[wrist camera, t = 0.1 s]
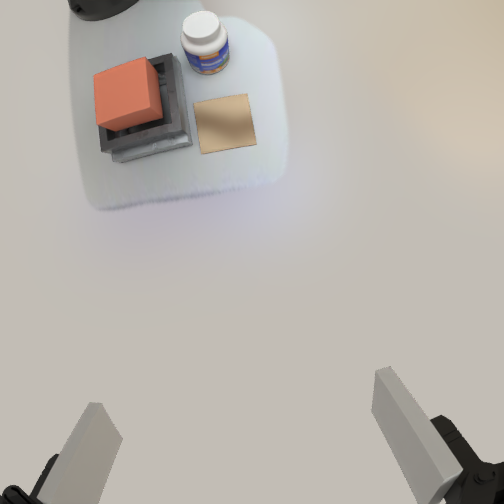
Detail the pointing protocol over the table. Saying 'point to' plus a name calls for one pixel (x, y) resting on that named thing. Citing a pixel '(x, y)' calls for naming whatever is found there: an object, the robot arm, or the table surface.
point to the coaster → (224, 123)
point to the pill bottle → (205, 42)
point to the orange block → (127, 95)
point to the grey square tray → (156, 137)
